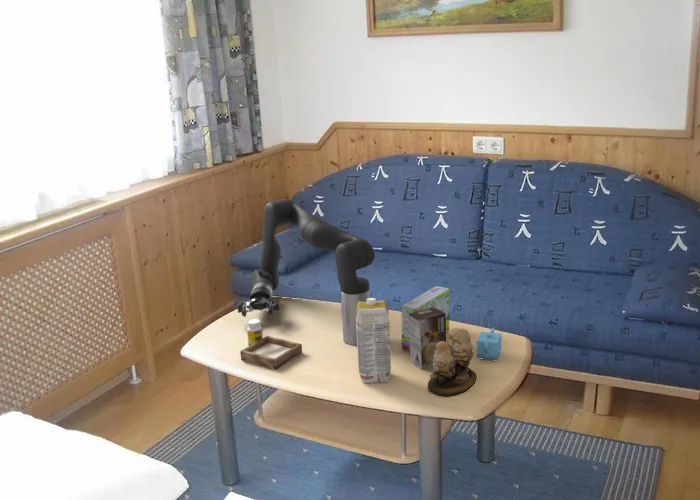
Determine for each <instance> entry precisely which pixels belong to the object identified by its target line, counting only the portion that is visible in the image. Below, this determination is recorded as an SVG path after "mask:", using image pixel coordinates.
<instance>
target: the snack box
mask: <svg viewBox="0 0 700 500" xmlns="http://www.w3.org/2000/svg"><path fill="white" fill-rule="evenodd" d="M450 289H451V288H450V287H449V288H447V287H443V286H438V285H436V286H434V287H432V288H431V289H429V290H427V291H425V292H423V293H421V294H420V295H418V296H417V297H414V299H411V300H409V301H408V302H406V303H404V304H403V305H401V350H402V351H406V352H409V353H410V327H409V313H413V312H417V311H421V310H425V309H428V308H432V307H434V308H436V309H439V310H440V311H442V312H444V313H446V331H447V332H449V331H450V305H451V304H450V298H451V296H450V295H451V291H450ZM448 330H449V331H448Z"/></svg>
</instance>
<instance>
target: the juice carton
mask: <svg viewBox="0 0 700 500" xmlns="http://www.w3.org/2000/svg"><path fill="white" fill-rule="evenodd" d="M390 328H391V327H390V314H389V310H388V304H387V303H386V301H385V300H377V298H375V297H370V298H368V299H367V302H358V303H357V309H356V330H357V345H356V348H357V363H358V364H357V365H358V373H359V377H360V380H361V383H362V384H371V383H372V384H373V383H389V380H390V377H391V371H392V367H391V365H392V361H391V360H392V359H391V355H392V354H391V353H392V352H391V332H390V331H391V330H390Z"/></svg>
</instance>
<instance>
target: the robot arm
mask: <svg viewBox="0 0 700 500" xmlns="http://www.w3.org/2000/svg"><path fill="white" fill-rule="evenodd" d="M265 204H266V205H265V206H264V210H263V218H262V219H263V220H262V221H263V222H262V225H263V226H262V227H263V228H262V248H261V253H260V259H259V269H256V270H254V271H253V272H252V274H251V286H252V289H251V293H250V297H249V299H248V300H247V301H245V300H244V299H239V302H238V304H237V313H241V316H243V317H247V313H252V312H253V311H263V310H265V311H266V312H267V313H268V316H272V315H273V314H274V312H275V311H276V312H278V311H280V298H279V297H276V298H275V299H274V300H273V291H276V290H277V289H278V287H279V286H280V276H279V275H280V274H279V263H280V259H281V255H282V254H281V251H282V249H281V245H280V243H279V242H278V240H277V238H276V236H275V235H276V234H275V233H276V231H277V228H279V227H283V226H289V225H293V226H296V227H298V232H299V235H300V237H301V238H302V240H303V241H305V242H306V243H308V244H309V245H311V246H312V247H314V248H317V249H320V250H325V251H333V252H335V264H336V265H335V267H336V272H337V273H336V274H337V281H338V285H339V287H340V301H341V302H340V303H341V304H340V306H341V320H342V321H341V322H342V335H343V336H342V338H343V339H342V340H343V342H344V343H345V344H347V345H353V346H357V330H356V309H357V303H358V302H367V299H368V298H371V295H370V282H369V280H368V279H367V278H365V277H361V276H357V275H358V274H357V270H361V269H364V268H367V267H368V266H371V265H372V263H373V262H374V261H375V257H376V254H375V251H374V248H373V245H372V244H370V242H368V241H367V240H366V239H364V238H362V237H359V236H357V235H354V234H351V233H348V232H346V231H345V230H342V229H340V228H338V227H337V226H335V225H332V224H331V223H329V222H328V221H326V220H324V219H323V218H321V217H318V216H316V215H314V214H312V213H311V212H309V211H307V210H306V209H304V208H303V207H302V206H301V205H299V204H298V203H296V202H295V201H294V200H292V199H289V198H283V199H278V200H273V201H269V202H267V203H265Z"/></svg>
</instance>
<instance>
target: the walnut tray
mask: <svg viewBox="0 0 700 500" xmlns="http://www.w3.org/2000/svg"><path fill="white" fill-rule="evenodd" d="M239 352H240V353H239V354H240V360H241V361H243V362H248V363H252V364H254V365H258V366H262V367H265V368H269V369H273V370H279V368H281V367H283V366H284V365H286V364H287V363H289V362H291V360H293V359H295V358H297V357H299V356H300V355H301V354H303V345H302V343H299V342H294V341H290V340H286V339H282V338H278V337H274V336H271V335H266V336H264V337H263V338H262V339H260V340H259V341H257V342H255V343H254V344H252V345H250V346H249V345H248V346H246V347H245V348H243V349H241V350H240V351H239Z"/></svg>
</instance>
